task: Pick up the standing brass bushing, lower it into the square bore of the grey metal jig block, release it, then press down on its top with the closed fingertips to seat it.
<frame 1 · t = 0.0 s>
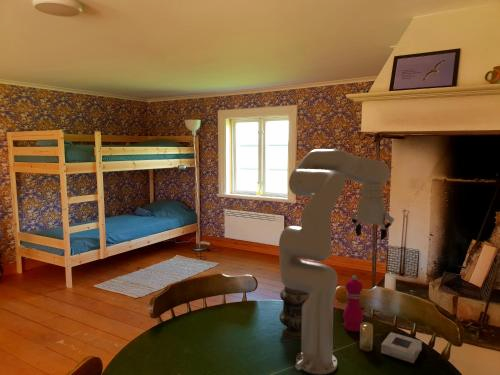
hand: (370, 237, 148), 31 cm above the table, fingers open, 9 cm apart
apothecary jar: (295, 333, 135), on the table
pepper mill: (352, 328, 138), on the table
bushing: (365, 347, 124), on the table
jig: (401, 351, 122), on the table
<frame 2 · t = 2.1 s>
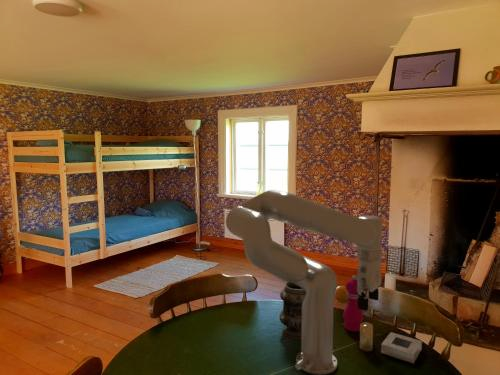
hand: (368, 304, 123), 15 cm above the table, fingers open, 9 cm apart
nothing on the table moved.
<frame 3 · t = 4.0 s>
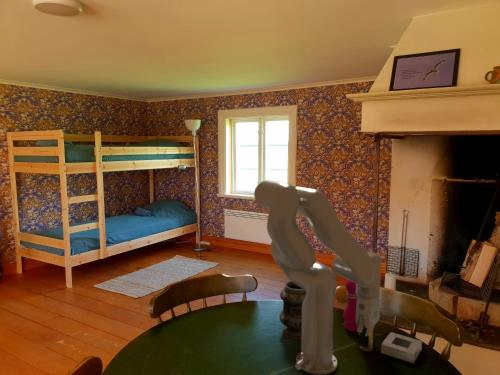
hand: (366, 342, 124), 2 cm above the table, fingers closed on bushing, 4 cm apart
bushing: (365, 347, 124), on the table, touching gripper
everything else where it was.
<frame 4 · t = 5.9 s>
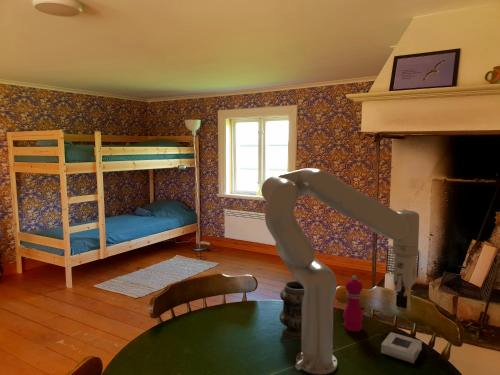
hand: (403, 304, 121), 16 cm above the table, fingers closed on bushing, 4 cm apart
bushing: (403, 309, 121), point 14 cm above the table, touching gripper
everything else where it was.
when the fingers open (4 cm above the table, at t = 7.8 s): bushing drops 2 cm, resting on jig.
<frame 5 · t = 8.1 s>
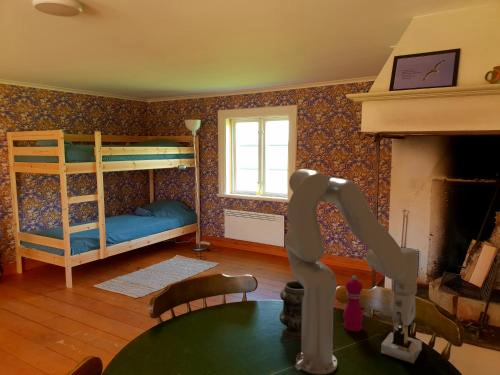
hand: (401, 339, 122), 4 cm above the table, fingers open, 6 cm apart
bushing: (401, 350, 122), resting on jig
everything else where it was.
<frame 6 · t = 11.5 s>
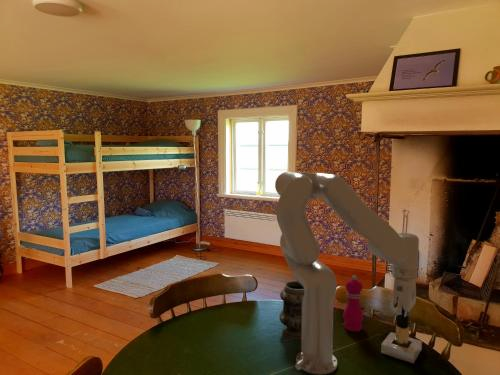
hand: (402, 326, 121), 8 cm above the table, fingers closed
bushing: (401, 350, 122), resting on jig, touching gripper
everything else where it was.
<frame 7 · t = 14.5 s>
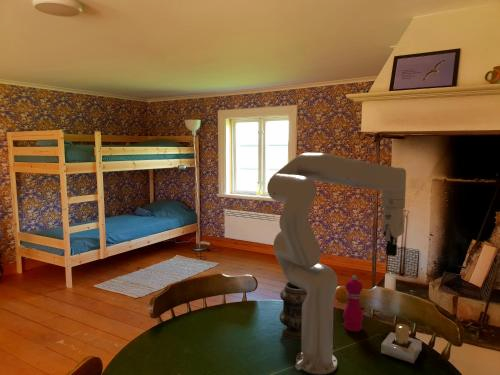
hand: (391, 254, 131), 29 cm above the table, fingers closed
bushing: (401, 350, 122), resting on jig
everything else where it was.
at the end: bushing 0.1 cm from the jig (horizontally); bushing resting on jig; bushing tilted 1° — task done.
